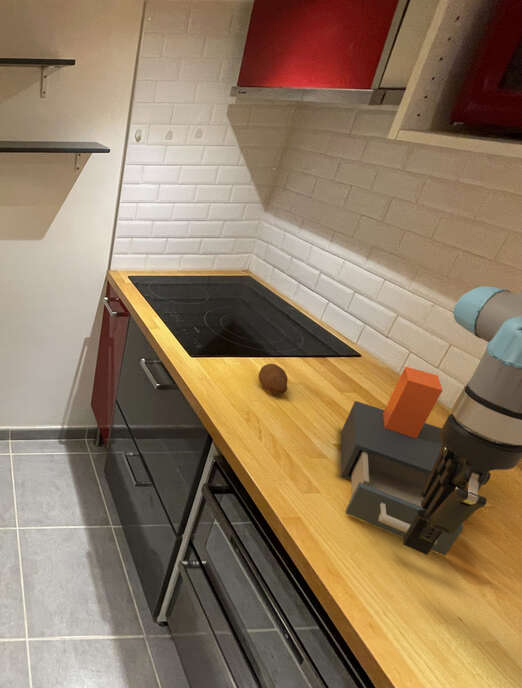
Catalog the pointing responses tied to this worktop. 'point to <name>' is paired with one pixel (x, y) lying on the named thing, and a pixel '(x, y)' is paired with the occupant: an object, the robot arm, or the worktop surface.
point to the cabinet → (386, 441)
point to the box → (412, 402)
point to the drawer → (390, 496)
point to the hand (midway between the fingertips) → (414, 546)
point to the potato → (273, 379)
